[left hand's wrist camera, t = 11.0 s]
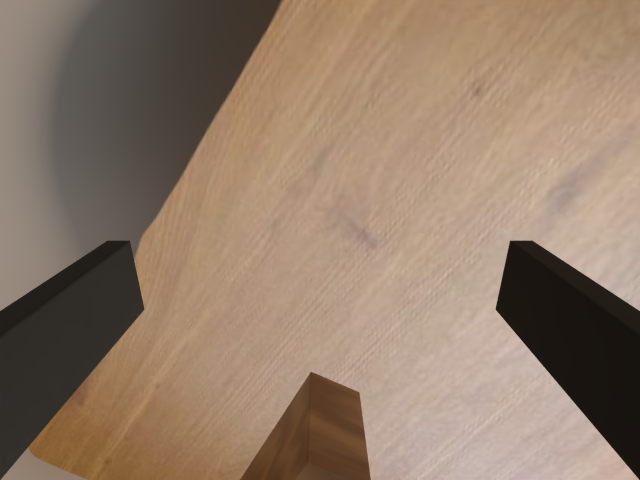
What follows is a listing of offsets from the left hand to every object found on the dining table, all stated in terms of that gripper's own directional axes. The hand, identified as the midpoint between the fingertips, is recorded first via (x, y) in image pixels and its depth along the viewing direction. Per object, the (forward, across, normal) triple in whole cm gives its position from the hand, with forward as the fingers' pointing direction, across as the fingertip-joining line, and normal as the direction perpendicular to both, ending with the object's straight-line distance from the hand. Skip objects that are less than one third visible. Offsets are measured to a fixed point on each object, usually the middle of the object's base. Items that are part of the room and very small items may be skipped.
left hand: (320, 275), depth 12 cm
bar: (+14, -4, -28) cm, 32 cm away
